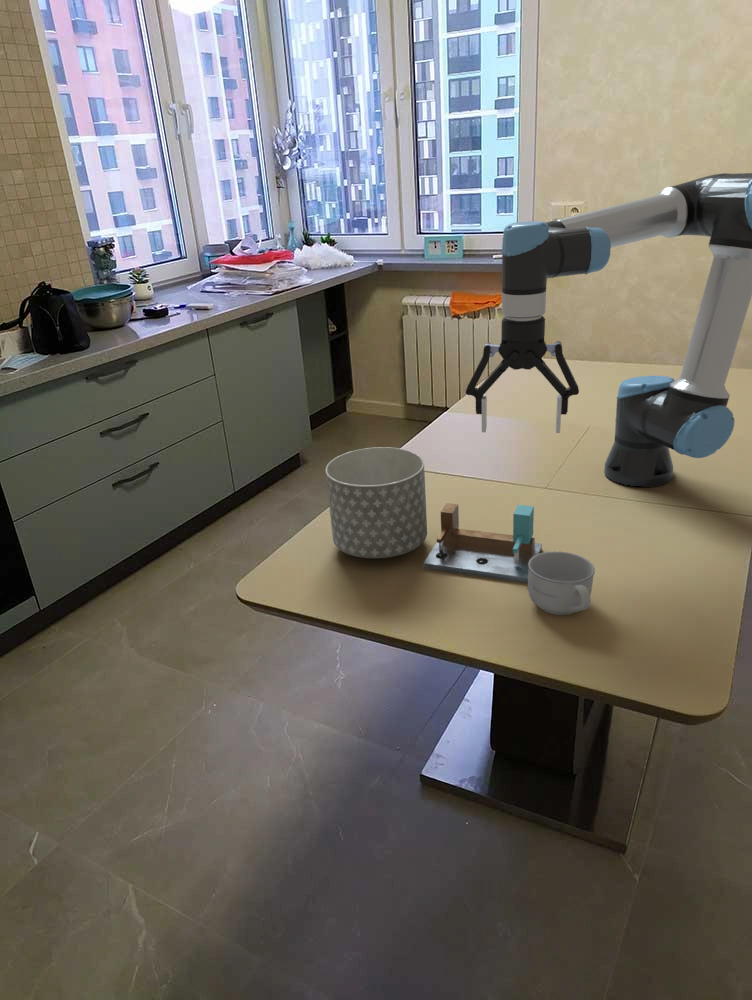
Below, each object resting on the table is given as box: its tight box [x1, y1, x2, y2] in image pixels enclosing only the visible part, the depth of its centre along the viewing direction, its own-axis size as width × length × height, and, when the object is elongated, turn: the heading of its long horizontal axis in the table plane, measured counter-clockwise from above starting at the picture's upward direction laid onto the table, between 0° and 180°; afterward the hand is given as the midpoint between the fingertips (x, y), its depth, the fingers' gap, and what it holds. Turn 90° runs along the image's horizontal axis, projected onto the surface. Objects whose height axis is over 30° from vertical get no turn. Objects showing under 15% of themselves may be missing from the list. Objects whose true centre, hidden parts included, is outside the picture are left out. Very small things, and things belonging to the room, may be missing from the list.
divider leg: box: [512, 504, 535, 564], centre depth 134 cm, size 3×9×8 cm, turn 158°
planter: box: [325, 446, 428, 559], centre depth 142 cm, size 19×19×18 cm
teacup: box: [527, 550, 596, 616], centre depth 121 cm, size 14×11×8 cm
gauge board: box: [423, 502, 543, 584], centre depth 137 cm, size 20×13×9 cm, turn 68°
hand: (520, 430), depth 136 cm, fingers open, 13 cm apart
